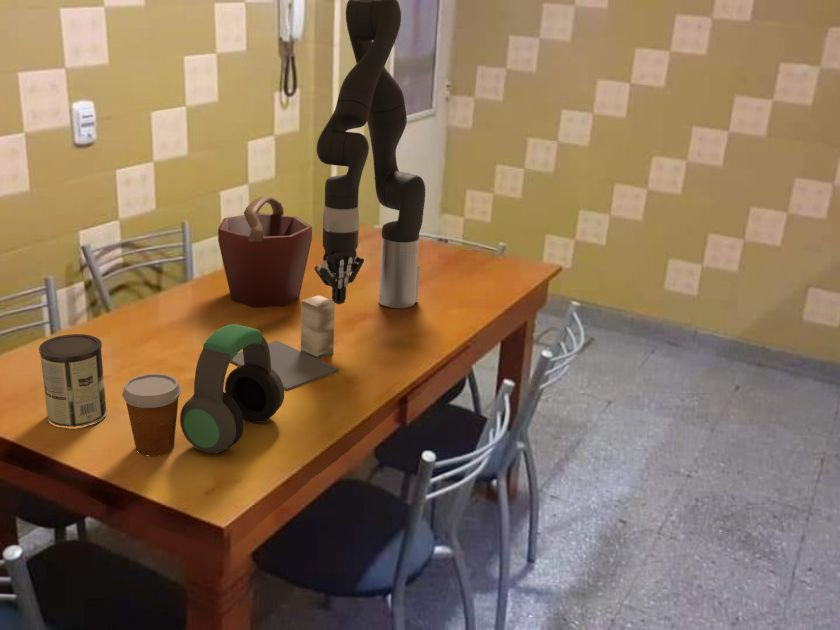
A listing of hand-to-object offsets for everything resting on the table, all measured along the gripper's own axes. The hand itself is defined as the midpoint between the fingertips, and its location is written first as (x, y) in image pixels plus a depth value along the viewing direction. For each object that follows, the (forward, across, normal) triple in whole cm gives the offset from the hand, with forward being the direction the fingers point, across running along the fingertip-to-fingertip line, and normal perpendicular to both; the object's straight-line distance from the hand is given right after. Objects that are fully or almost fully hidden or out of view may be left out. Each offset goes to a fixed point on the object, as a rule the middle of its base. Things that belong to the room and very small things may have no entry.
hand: (338, 302), depth 195 cm
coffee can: (+10, +58, -7) cm, 59 cm away
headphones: (+10, +41, +17) cm, 46 cm away
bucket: (+10, -7, -35) cm, 37 cm away
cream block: (+10, +6, 0) cm, 12 cm away
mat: (+10, +16, 0) cm, 19 cm away
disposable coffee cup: (+10, +54, +12) cm, 56 cm away
